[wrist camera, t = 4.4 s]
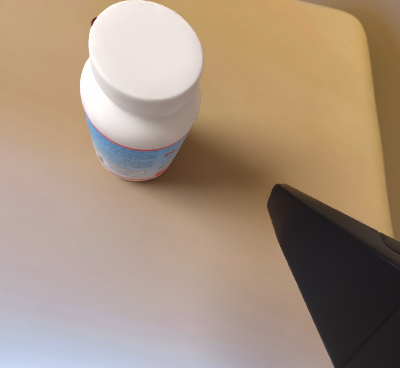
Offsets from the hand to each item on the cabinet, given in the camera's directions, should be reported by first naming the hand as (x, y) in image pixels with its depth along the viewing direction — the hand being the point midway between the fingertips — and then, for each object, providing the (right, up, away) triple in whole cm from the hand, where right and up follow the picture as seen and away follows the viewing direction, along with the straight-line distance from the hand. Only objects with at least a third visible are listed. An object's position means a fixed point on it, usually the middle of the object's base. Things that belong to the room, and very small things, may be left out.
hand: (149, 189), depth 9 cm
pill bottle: (-3, +3, +13) cm, 14 cm away
